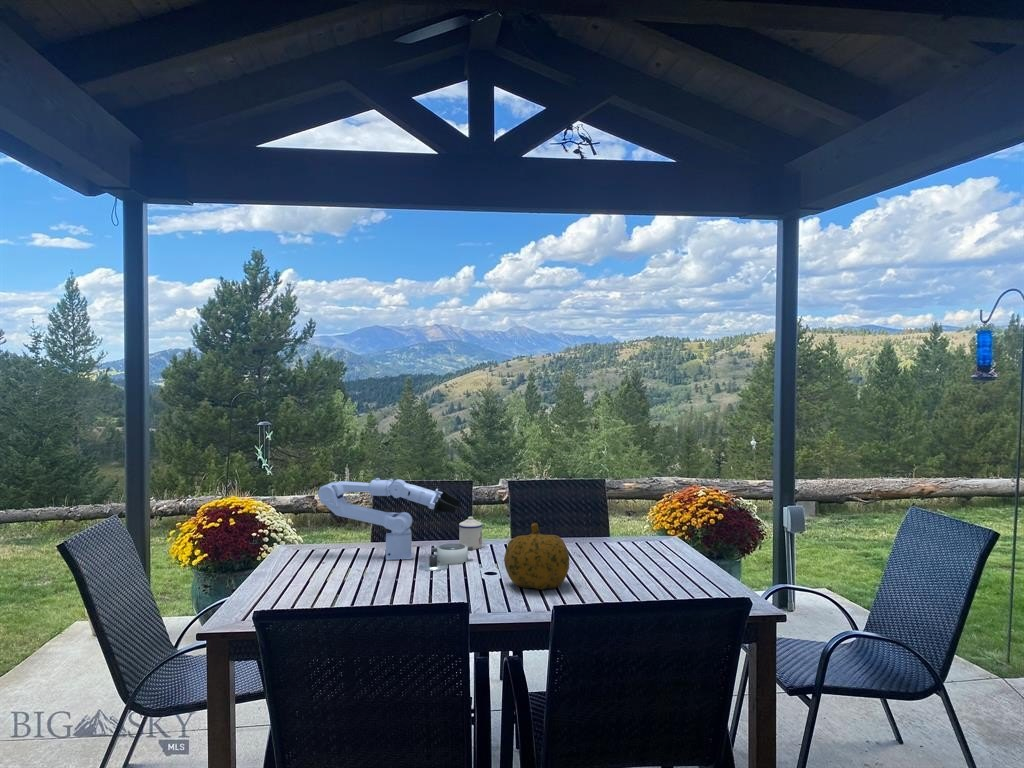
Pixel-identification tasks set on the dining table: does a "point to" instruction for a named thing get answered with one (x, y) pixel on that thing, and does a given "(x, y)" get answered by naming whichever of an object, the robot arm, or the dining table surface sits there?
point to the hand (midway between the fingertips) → (457, 506)
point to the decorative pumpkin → (537, 560)
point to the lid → (433, 564)
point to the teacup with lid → (470, 533)
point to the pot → (452, 553)
